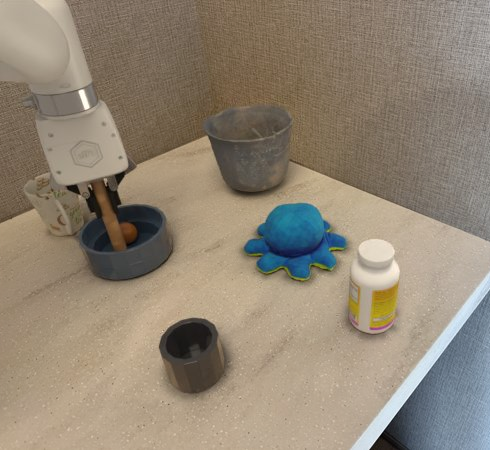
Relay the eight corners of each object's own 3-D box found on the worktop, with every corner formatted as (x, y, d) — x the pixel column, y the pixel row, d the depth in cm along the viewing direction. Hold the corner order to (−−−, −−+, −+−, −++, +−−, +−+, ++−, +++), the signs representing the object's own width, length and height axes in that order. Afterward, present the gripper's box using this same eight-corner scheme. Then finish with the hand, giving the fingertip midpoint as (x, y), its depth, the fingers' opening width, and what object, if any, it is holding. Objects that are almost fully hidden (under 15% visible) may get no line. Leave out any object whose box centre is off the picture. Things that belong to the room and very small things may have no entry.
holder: (177, 403, 54) (167, 374, 51) (163, 360, 60) (153, 330, 56) (232, 378, 57) (226, 349, 54) (214, 339, 62) (207, 309, 59)
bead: (111, 229, 76) (110, 222, 79) (117, 250, 78) (116, 242, 81) (135, 224, 77) (133, 216, 81) (140, 244, 79) (138, 236, 82)
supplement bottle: (400, 311, 65) (410, 243, 58) (384, 342, 61) (392, 273, 53) (359, 295, 68) (363, 228, 61) (340, 324, 64) (341, 256, 56)
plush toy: (276, 295, 69) (272, 254, 64) (232, 239, 81) (226, 201, 76) (362, 257, 75) (365, 217, 70) (310, 210, 87) (309, 173, 82)
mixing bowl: (95, 293, 71) (83, 265, 67) (85, 245, 81) (74, 218, 77) (182, 263, 76) (175, 236, 72) (162, 222, 86) (155, 196, 82)
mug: (82, 209, 91) (65, 166, 85) (104, 237, 83) (87, 192, 77) (39, 226, 86) (18, 182, 81) (58, 257, 78) (36, 210, 73)
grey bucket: (287, 212, 87) (283, 142, 78) (202, 206, 90) (189, 138, 81) (301, 168, 101) (299, 104, 92) (227, 164, 104) (218, 102, 95)
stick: (118, 262, 72) (89, 183, 66) (117, 257, 74) (89, 180, 68) (130, 258, 73) (103, 180, 67) (129, 253, 75) (102, 176, 68)
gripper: (-1, 121, 54) (54, 240, 65) (133, 95, 59) (163, 209, 70) (1, 102, 59) (52, 215, 70) (123, 80, 65) (152, 187, 76)
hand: (107, 211), depth 70 cm, fingers closed on stick, 2 cm apart
